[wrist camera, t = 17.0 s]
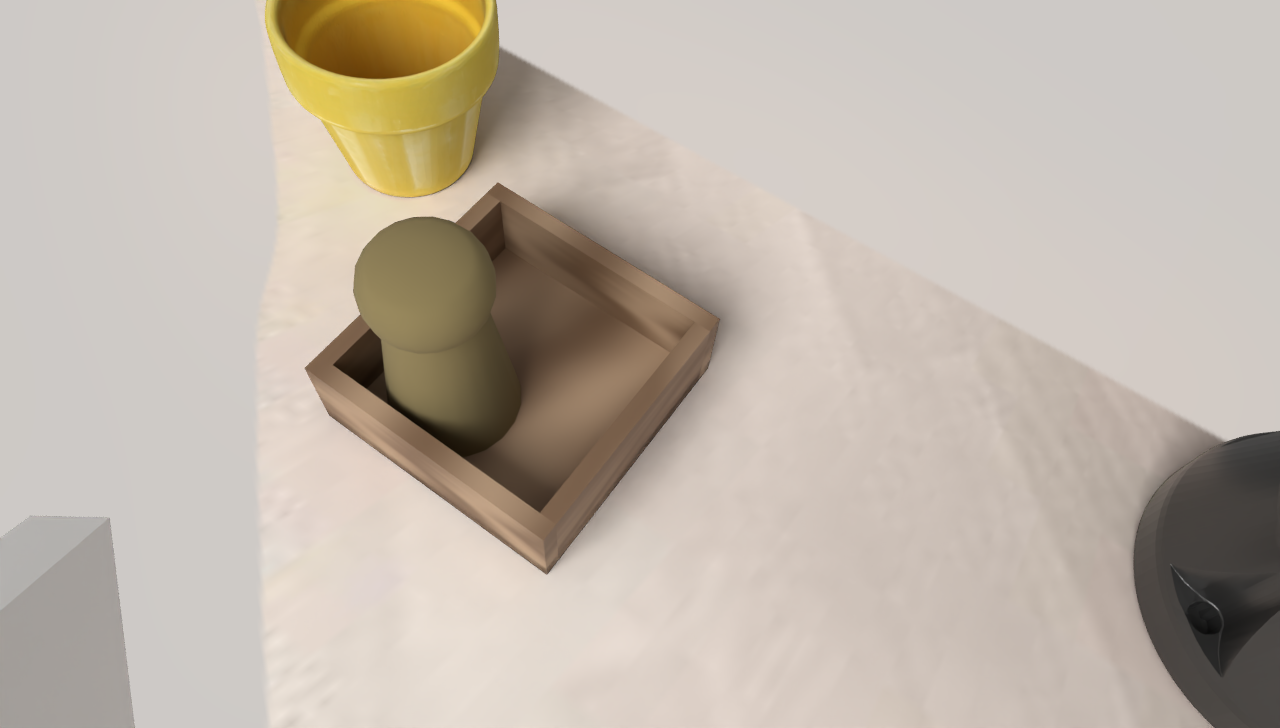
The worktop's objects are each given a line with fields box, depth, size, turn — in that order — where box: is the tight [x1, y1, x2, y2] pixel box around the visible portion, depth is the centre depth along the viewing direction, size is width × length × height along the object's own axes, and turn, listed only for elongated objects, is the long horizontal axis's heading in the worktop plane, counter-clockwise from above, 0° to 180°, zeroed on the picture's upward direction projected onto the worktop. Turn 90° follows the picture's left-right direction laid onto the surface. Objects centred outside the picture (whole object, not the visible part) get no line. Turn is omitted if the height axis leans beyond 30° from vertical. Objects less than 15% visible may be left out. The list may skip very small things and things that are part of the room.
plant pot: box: [265, 0, 499, 197], centre depth 47 cm, size 10×10×10 cm
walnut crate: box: [305, 183, 720, 574], centre depth 43 cm, size 13×13×4 cm
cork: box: [353, 217, 521, 457], centre depth 38 cm, size 6×6×11 cm
